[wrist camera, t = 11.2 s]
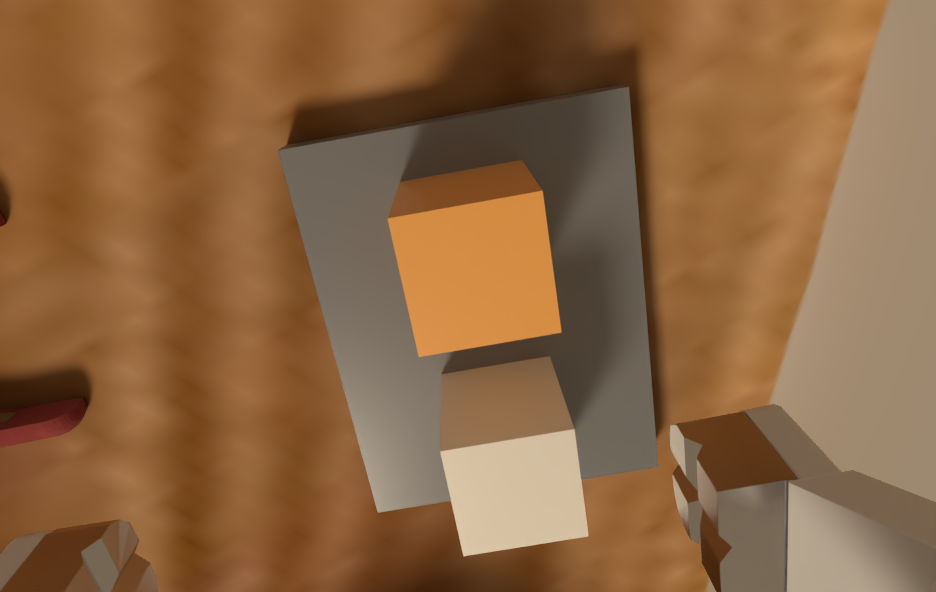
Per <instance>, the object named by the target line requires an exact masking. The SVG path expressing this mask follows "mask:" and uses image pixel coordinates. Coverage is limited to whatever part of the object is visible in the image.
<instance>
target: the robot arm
mask: <svg viewBox="0 0 936 592" xmlns="http://www.w3.org/2000/svg"><path fill="white" fill-rule="evenodd" d="M670 447H671V450H672V452H673V454H674V456H675V458H676V459H677V461H678V463H679V465H678V466H677V468H676V469H675V471H674V472H673V484H674V493H675V498H676V502H677V506H678V511H679V514H680V517H681V519H682V522H683V525H684V527H685V529H686V531H687V533H688V535H689V538H690V539H691V540H693V541H694V542H696V543H698V544H700V545H701V553H702V564H703V566H704V568H705V570H706V572H707V574H708V576H709V578H710V580H711V582H712V584H713V586H714V588H715V590H716V592H936V502H934V501H931V500H928V499H926V498H923V497H921V496H918V495H915V494H913V493H910V492H907V491H905V490H903V489H900V488H898V487H895V486H892V485H890V484H887V483H884V482H882V481H880V480H877V479H874V478H872V477H869V476H867V475H864V474H862V473H859V472H856V471H854V470H851V471H845V472H841V470H840V469H839V468H838V467H837V466H836V465H835V464H834V463H833V462H832V461H831V460H830V459H829V458H828V457H827V456H826V454H825V453H824V452H823V451H822V450H821V449H820V448H819V447H818V446H817V445H816V444H815V443H814V442H813V441H812V439H811V438H809V436H808V435H807V434H806V433H805V432H804V431H803V430H802V429H801V428H800V427H799V426H798V425H797V423H796V422H795V421H794V420H793V419H792V418H791V417H790V416H789V415H788V414H787V413H786V412H785V411H784V410H783V409H782V408H781V407H780V406H778V405H775V404H772V405H767V406H762V407H757V408H752V409H748V410H743V411H740V412H738V413H732V414H727V415H721V416H716V417H710V418H705V419H699V420H694V421H689V422H683V423H678V424H672V425H671V428H670ZM138 542H139V539H138V537H137V535H136V533H135V531H134V530H133V528H132V526H131V524H130V523H129V522H125V521H122V520H113V521H107V522H100V523H93V524H87V525H80V526H73V527H67V528H60V529H56V530H48V531H42V532H36V533H30V534H25V535H23V536H20V537H18V538H16V539H14V540H12V541H11V542H10V544H9V545H8V546H7V547H6V548H5V549H4V551H3V552H2V553H1V554H0V592H159V590H158V584H157V578H156V575H155V572H154V570H153V568H152V566H151V564H150V562H148V561H146V560H145V559H143V558H142V557H140V556H139V555H137V554H135V551H136V548H137V545H138Z"/></svg>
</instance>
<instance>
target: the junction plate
mask: <svg viewBox="0 0 936 592" xmlns="http://www.w3.org/2000/svg"><path fill="white" fill-rule="evenodd" d="M278 153H279V157H280V160H281V164H282V167H283V171H284V175H285V178H286V182H287V185H288V189H289V193H290V196H291V200H292V204H293V207H294V211H295V214H296V218H297V222H298V225H299V229H300V233H301V236H302V240H303V243H304V247H305V251H306V254H307V258H308V261H309V265H310V269H311V272H312V276H313V280H314V283H315V287H316V290H317V294H318V298H319V301H320V305H321V308H322V312H323V316H324V319H325V323H326V327H327V330H328V334H329V337H330V341H331V345H332V348H333V352H334V356H335V359H336V363H337V366H338V370H339V374H340V377H341V381H342V384H343V388H344V392H345V395H346V399H347V403H348V406H349V410H350V413H351V417H352V421H353V424H354V428H355V431H356V435H357V439H358V442H359V446H360V450H361V453H362V457H363V460H364V464H365V468H366V471H367V475H368V479H369V482H370V486H371V489H372V493H373V497H374V500H375V504H376V507H377V511H378V513H379V512H385V511H391V510H397V509H403V508H409V507H416V506H422V505H428V504H434V503H440V502H446V501H451V503H452V507H453V512H454V516H455V521H456V525H457V530H458V534H459V538H460V543H461V547H462V552H463V556H468V555H475V554H481V553H487V552H493V551H499V550H506V549H512V548H518V547H524V546H531V545H537V544H543V543H549V542H556V541H562V540H568V539H574V538H581V537H587V536H588V528H587V521H586V513H585V505H584V498H583V490H582V482H581V479H587V478H593V477H600V476H606V475H612V474H618V473H624V472H630V471H636V470H642V469H649V468H655V467H658V456H657V443H656V430H655V418H654V405H653V392H652V379H651V366H650V353H649V340H648V327H647V314H646V301H645V288H644V275H643V262H642V249H641V236H640V223H639V210H638V197H637V184H636V171H635V158H634V145H633V132H632V119H631V106H630V93H629V87H628V86H624V85H614V86H609V87H603V88H598V89H592V90H587V91H581V92H576V93H570V94H565V95H559V96H554V97H548V98H543V99H537V100H532V101H526V102H521V103H515V104H510V105H504V106H499V107H493V108H488V109H482V110H477V111H471V112H466V113H460V114H455V115H449V116H444V117H438V118H433V119H427V120H422V121H416V122H411V123H405V124H400V125H394V126H389V127H383V128H378V129H372V130H367V131H361V132H356V133H350V134H345V135H339V136H334V137H328V138H323V139H317V140H311V141H306V142H300V143H295V144H289V145H286V146H284V147H283V148H281V149H279V150H278ZM518 160H522V161H523V163H524V164H525V165H526V167H527V168H528V170H529V171H530V173H531V174H532V176H533V177H534V179H535V180H536V182H537V183H538V185H539V186H540V187H541V189H542V190H543V197H544V204H545V212H546V219H547V227H548V234H549V242H550V249H551V257H552V264H553V272H554V279H555V287H556V294H557V302H558V309H559V317H560V324H561V331H562V333H556V334H551V335H545V336H539V337H533V338H527V339H522V340H516V341H510V342H504V343H498V344H493V345H487V346H481V347H475V348H469V349H464V350H458V351H452V352H446V353H441V354H435V355H429V356H423V357H419V356H418V352H417V347H416V343H415V338H414V334H413V329H412V325H411V321H410V316H409V312H408V307H407V303H406V298H405V294H404V290H403V285H402V281H401V276H400V272H399V268H398V263H397V259H396V254H395V250H394V245H393V241H392V237H391V232H390V228H389V223H388V219H387V218H388V215H389V212H390V209H391V206H392V203H393V201H394V198H395V195H396V192H397V189H398V186H399V183H400V182H402V181H408V180H413V179H419V178H424V177H430V176H435V175H441V174H446V173H452V172H457V171H463V170H468V169H474V168H479V167H485V166H490V165H496V164H501V163H507V162H512V161H518Z"/></svg>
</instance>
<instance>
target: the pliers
mask: <svg viewBox="0 0 936 592" xmlns="http://www.w3.org/2000/svg"><path fill="white" fill-rule="evenodd" d="M5 224H6V221H5V219H4V217H3V215H2V214H1V212H0V226H3V225H5ZM85 412H86V403H85V400H84V398H83V397H78V398H73V399H67V400H62V401H56V402H51V403H46V404H41V405H36V406H30V407H25V408H17V409H0V448H1V447H6V446H11V445H16V444H20V443H25V442H30V441H35V440H40V439H45V438H49V437H54V436H59V435H62V434H64V433H67V432H69V431H70V430H72V429H74V428H75V427H76V426H77V425H78V424H79V423H80V422H81V420H82V419H83V417H84V415H85Z"/></svg>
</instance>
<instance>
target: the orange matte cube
mask: <svg viewBox="0 0 936 592" xmlns="http://www.w3.org/2000/svg"><path fill="white" fill-rule="evenodd" d="M387 219H388V223H389V228H390V232H391V237H392V241H393V245H394V250H395V254H396V259H397V263H398V268H399V272H400V276H401V281H402V285H403V290H404V294H405V298H406V303H407V307H408V312H409V316H410V321H411V325H412V329H413V334H414V338H415V343H416V347H417V352H418V356H419V357H423V356H429V355H435V354H441V353H446V352H452V351H458V350H464V349H469V348H475V347H481V346H487V345H493V344H498V343H504V342H510V341H516V340H522V339H527V338H533V337H539V336H545V335H551V334H556V333H562V331H561V324H560V317H559V309H558V302H557V294H556V287H555V279H554V272H553V264H552V257H551V249H550V242H549V234H548V227H547V219H546V212H545V204H544V197H543V190H542V189H541V187H540V186H539V185H538V183H537V182H536V180H535V179H534V177H533V176H532V174H531V173H530V171H529V170H528V168H527V167H526V165H525V164H524V163H523V161H522V160H518V161H512V162H507V163H501V164H496V165H490V166H485V167H479V168H474V169H468V170H463V171H457V172H452V173H446V174H441V175H435V176H430V177H424V178H419V179H413V180H408V181H402V182H400V183H399V186H398V189H397V192H396V195H395V198H394V201H393V203H392V206H391V209H390V212H389V215H388V218H387Z"/></svg>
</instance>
